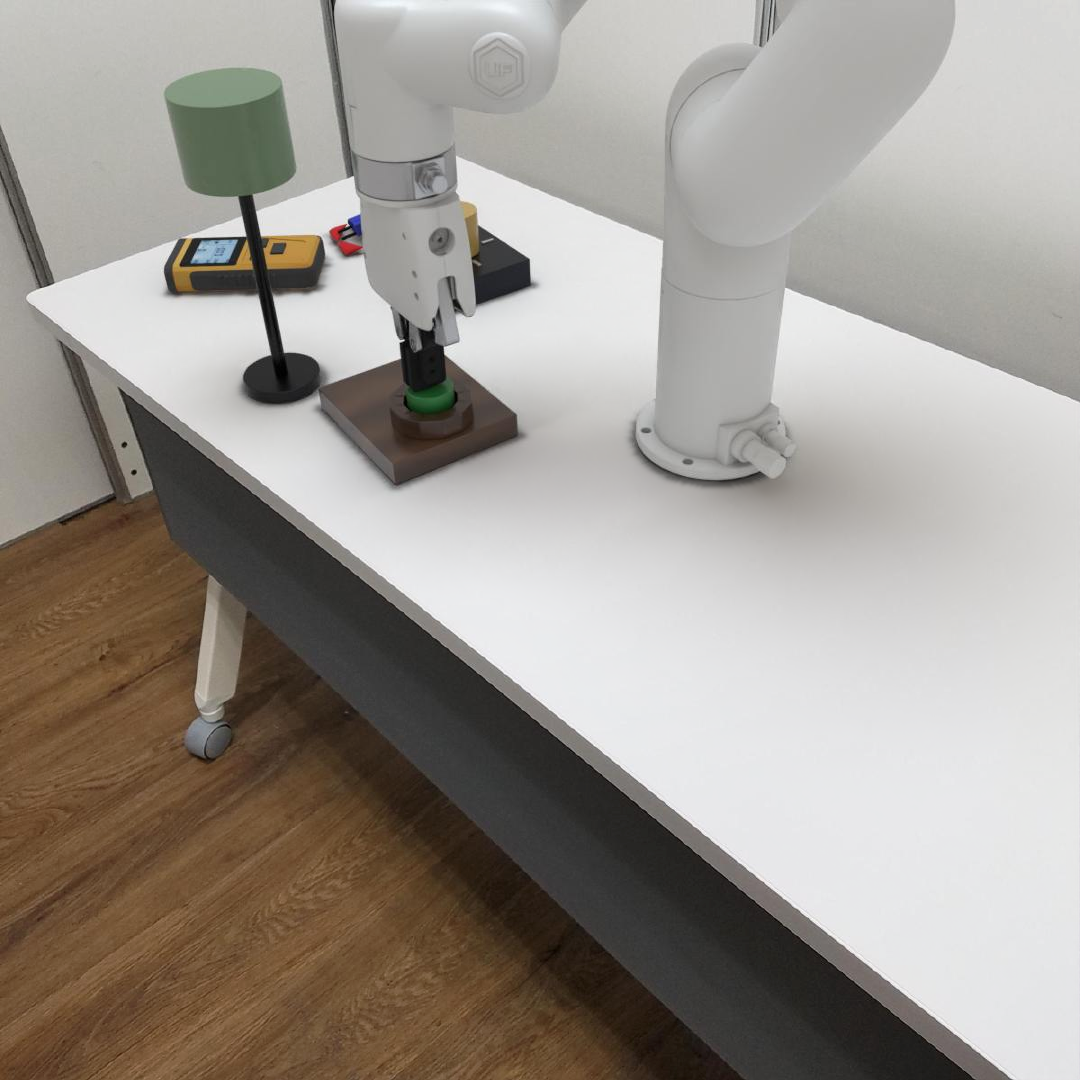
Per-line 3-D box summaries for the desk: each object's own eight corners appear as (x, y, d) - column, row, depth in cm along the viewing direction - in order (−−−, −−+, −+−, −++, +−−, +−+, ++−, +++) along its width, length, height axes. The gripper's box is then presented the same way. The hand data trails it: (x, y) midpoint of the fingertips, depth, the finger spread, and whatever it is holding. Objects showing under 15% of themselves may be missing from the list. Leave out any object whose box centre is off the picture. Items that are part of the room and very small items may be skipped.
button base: (518, 435, 98) (516, 396, 95) (395, 485, 93) (390, 445, 90) (437, 366, 107) (433, 328, 104) (321, 408, 102) (314, 370, 99)
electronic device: (317, 294, 119) (312, 265, 117) (168, 297, 119) (160, 268, 117) (328, 257, 125) (323, 228, 123) (186, 260, 125) (179, 231, 123)
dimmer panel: (531, 285, 119) (530, 257, 117) (448, 313, 114) (446, 285, 112) (471, 244, 126) (469, 217, 124) (392, 269, 122) (388, 242, 120)
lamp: (348, 388, 104) (300, 89, 87) (257, 421, 101) (188, 116, 83) (307, 347, 110) (254, 59, 93) (219, 377, 106) (147, 83, 89)
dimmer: (487, 252, 118) (484, 208, 115) (451, 264, 116) (447, 220, 113) (465, 237, 121) (462, 194, 118) (429, 249, 119) (425, 205, 116)
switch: (463, 405, 95) (462, 387, 94) (422, 421, 94) (420, 403, 92) (439, 384, 98) (438, 367, 97) (398, 400, 96) (396, 382, 95)
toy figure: (352, 271, 125) (472, 220, 128) (337, 230, 122) (461, 179, 125) (332, 249, 131) (447, 201, 134) (317, 210, 128) (436, 161, 131)
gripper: (503, 189, 79) (511, 409, 91) (400, 126, 89) (420, 332, 101) (409, 216, 76) (430, 440, 88) (313, 148, 86) (344, 358, 98)
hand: (425, 382), depth 94 cm, fingers closed
